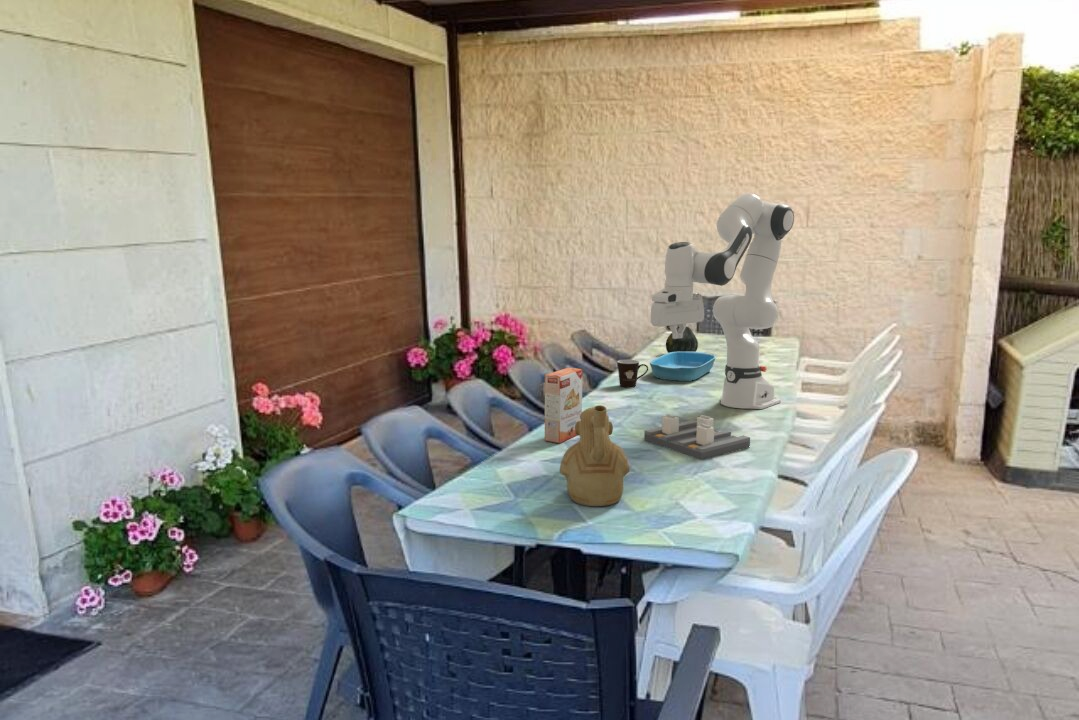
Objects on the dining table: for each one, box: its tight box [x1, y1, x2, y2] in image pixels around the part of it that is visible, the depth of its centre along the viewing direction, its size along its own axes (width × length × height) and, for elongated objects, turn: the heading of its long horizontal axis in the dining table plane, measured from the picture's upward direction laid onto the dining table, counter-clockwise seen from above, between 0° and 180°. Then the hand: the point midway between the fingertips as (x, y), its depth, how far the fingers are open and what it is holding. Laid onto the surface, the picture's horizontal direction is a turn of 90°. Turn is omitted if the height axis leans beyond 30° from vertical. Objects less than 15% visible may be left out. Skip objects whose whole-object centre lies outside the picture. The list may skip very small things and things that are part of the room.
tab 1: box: [661, 413, 680, 434], centre depth 239 cm, size 3×4×6 cm
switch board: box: [643, 419, 751, 461], centre depth 236 cm, size 20×24×3 cm
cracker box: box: [544, 367, 584, 444], centre depth 242 cm, size 14×6×21 cm, turn 148°
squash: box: [665, 326, 699, 353], centre depth 378 cm, size 14×15×15 cm
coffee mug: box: [616, 359, 649, 389], centre depth 313 cm, size 12×9×10 cm
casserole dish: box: [649, 351, 717, 382], centre depth 336 cm, size 37×22×7 cm, turn 150°
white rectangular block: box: [696, 414, 715, 429], centre depth 237 cm, size 3×4×6 cm
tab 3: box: [696, 424, 715, 445], centre depth 228 cm, size 3×4×6 cm
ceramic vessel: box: [559, 404, 631, 507], centre depth 190 cm, size 17×20×25 cm
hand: (677, 338), depth 249 cm, fingers closed
